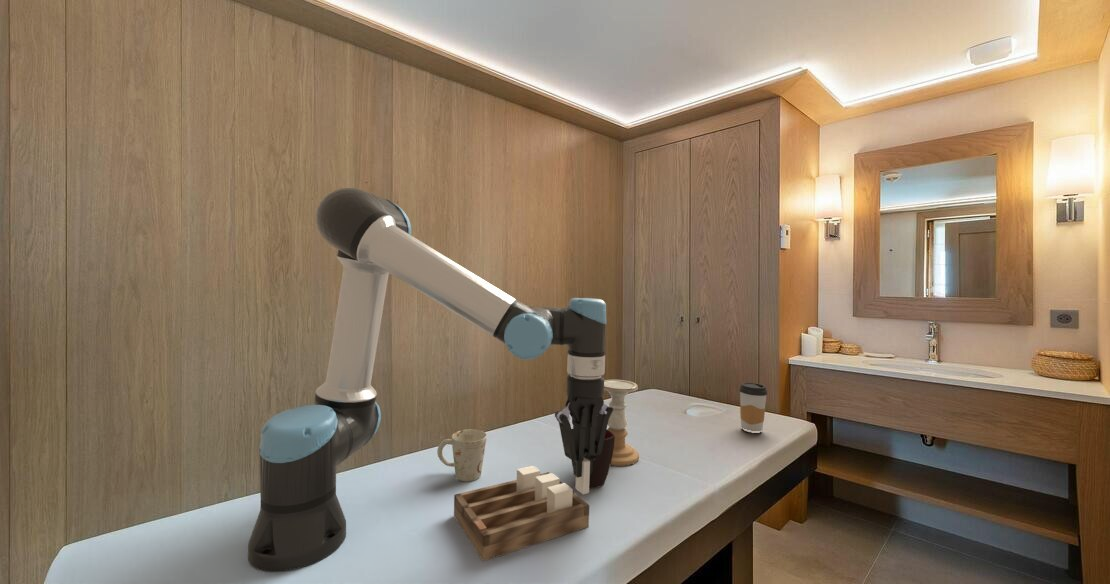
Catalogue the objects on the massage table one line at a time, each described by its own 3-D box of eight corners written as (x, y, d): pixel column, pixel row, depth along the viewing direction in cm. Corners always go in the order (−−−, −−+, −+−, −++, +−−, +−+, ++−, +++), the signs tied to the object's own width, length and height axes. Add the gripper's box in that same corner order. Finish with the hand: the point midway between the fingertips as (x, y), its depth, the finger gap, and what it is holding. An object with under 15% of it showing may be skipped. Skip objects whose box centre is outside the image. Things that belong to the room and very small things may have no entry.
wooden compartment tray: (483, 561, 75) (483, 534, 75) (453, 515, 89) (454, 493, 89) (588, 526, 86) (589, 503, 86) (548, 491, 100) (548, 470, 100)
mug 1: (478, 485, 102) (479, 443, 101) (428, 479, 104) (428, 438, 104) (490, 470, 110) (491, 431, 110) (443, 464, 112) (444, 426, 112)
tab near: (554, 519, 84) (555, 494, 84) (546, 512, 87) (547, 487, 86) (571, 514, 86) (572, 489, 86) (563, 507, 89) (564, 482, 88)
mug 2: (583, 496, 98) (584, 443, 98) (554, 471, 110) (555, 424, 110) (619, 487, 103) (620, 436, 102) (587, 464, 115) (588, 418, 115)
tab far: (522, 498, 92) (523, 474, 92) (516, 492, 94) (516, 469, 94) (539, 493, 94) (540, 470, 94) (532, 487, 96) (533, 465, 96)
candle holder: (590, 463, 116) (592, 387, 115) (597, 445, 128) (599, 377, 127) (637, 469, 113) (640, 391, 112) (640, 450, 125) (642, 380, 124)
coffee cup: (767, 429, 145) (769, 384, 145) (763, 437, 138) (766, 390, 138) (740, 424, 150) (742, 381, 149) (735, 431, 143) (737, 385, 142)
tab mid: (541, 507, 88) (542, 483, 88) (534, 500, 91) (535, 476, 91) (558, 502, 90) (559, 478, 90) (551, 496, 93) (552, 472, 93)
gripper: (568, 382, 82) (564, 507, 82) (623, 376, 88) (619, 491, 89) (548, 374, 88) (545, 489, 89) (600, 368, 95) (597, 476, 96)
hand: (582, 490), depth 89 cm, fingers closed
